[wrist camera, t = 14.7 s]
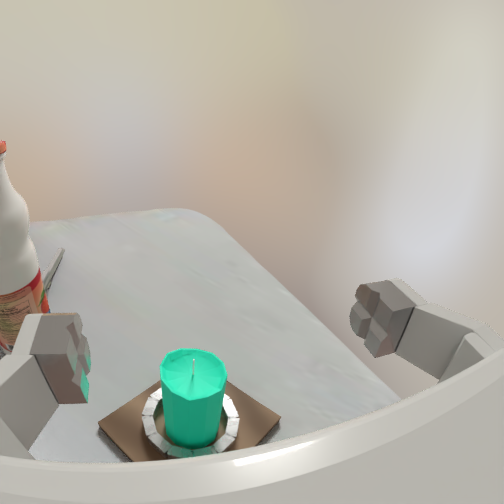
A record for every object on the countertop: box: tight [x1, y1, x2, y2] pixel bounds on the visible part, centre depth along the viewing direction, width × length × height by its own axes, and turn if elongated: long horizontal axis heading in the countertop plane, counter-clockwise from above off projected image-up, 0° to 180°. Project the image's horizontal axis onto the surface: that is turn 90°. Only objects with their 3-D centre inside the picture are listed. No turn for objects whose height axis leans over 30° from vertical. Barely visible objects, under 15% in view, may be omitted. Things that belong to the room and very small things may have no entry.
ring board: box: [98, 380, 281, 462], centre depth 32 cm, size 16×14×1 cm
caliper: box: [41, 248, 65, 301], centre depth 49 cm, size 20×1×6 cm, turn 18°
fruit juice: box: [0, 140, 50, 355], centre depth 31 cm, size 9×9×28 cm
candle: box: [160, 348, 227, 449], centre depth 29 cm, size 6×6×12 cm
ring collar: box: [142, 388, 240, 460], centre depth 32 cm, size 10×10×2 cm
